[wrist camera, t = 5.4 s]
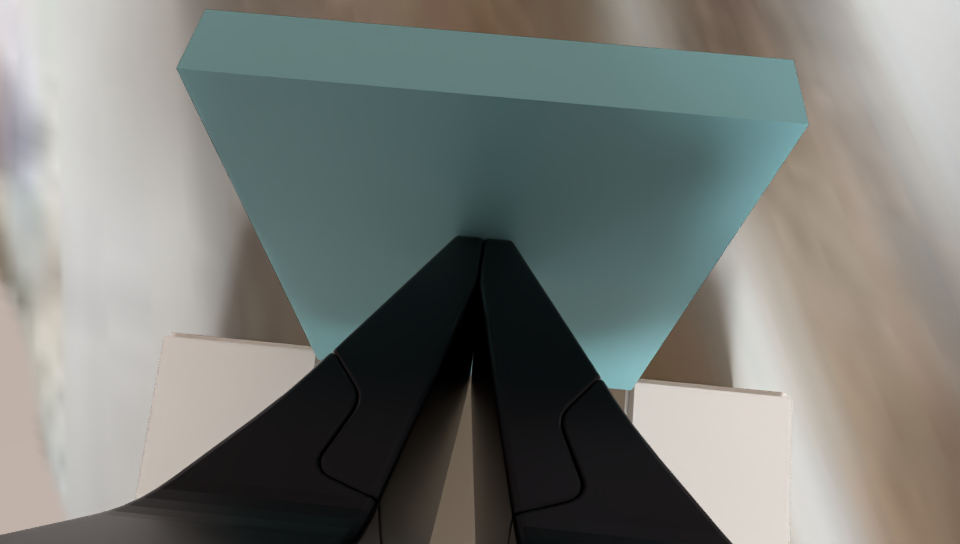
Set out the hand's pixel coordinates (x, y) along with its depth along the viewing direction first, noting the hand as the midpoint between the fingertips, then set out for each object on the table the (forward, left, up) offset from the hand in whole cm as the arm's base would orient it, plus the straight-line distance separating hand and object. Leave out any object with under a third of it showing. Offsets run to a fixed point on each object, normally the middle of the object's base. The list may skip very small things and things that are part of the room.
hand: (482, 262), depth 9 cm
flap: (-1, 0, -5) cm, 5 cm away
